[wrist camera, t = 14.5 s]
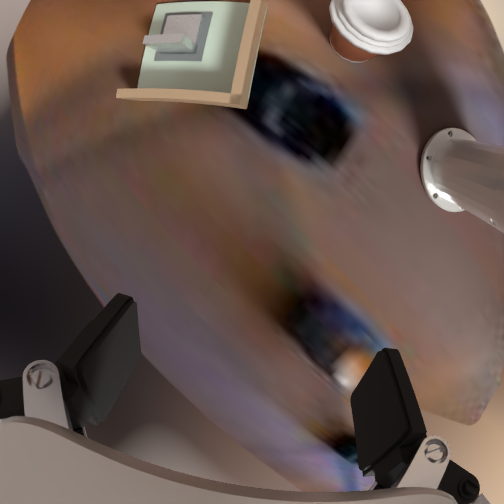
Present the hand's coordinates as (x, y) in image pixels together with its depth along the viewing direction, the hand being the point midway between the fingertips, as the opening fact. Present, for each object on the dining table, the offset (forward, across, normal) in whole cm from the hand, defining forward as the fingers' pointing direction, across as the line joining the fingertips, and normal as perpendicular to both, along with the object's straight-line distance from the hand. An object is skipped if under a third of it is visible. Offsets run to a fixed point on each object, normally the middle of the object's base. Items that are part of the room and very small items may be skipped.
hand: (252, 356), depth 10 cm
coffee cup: (+31, -6, -23) cm, 39 cm away
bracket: (+29, +16, -20) cm, 39 cm away
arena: (+30, +14, -18) cm, 38 cm away
